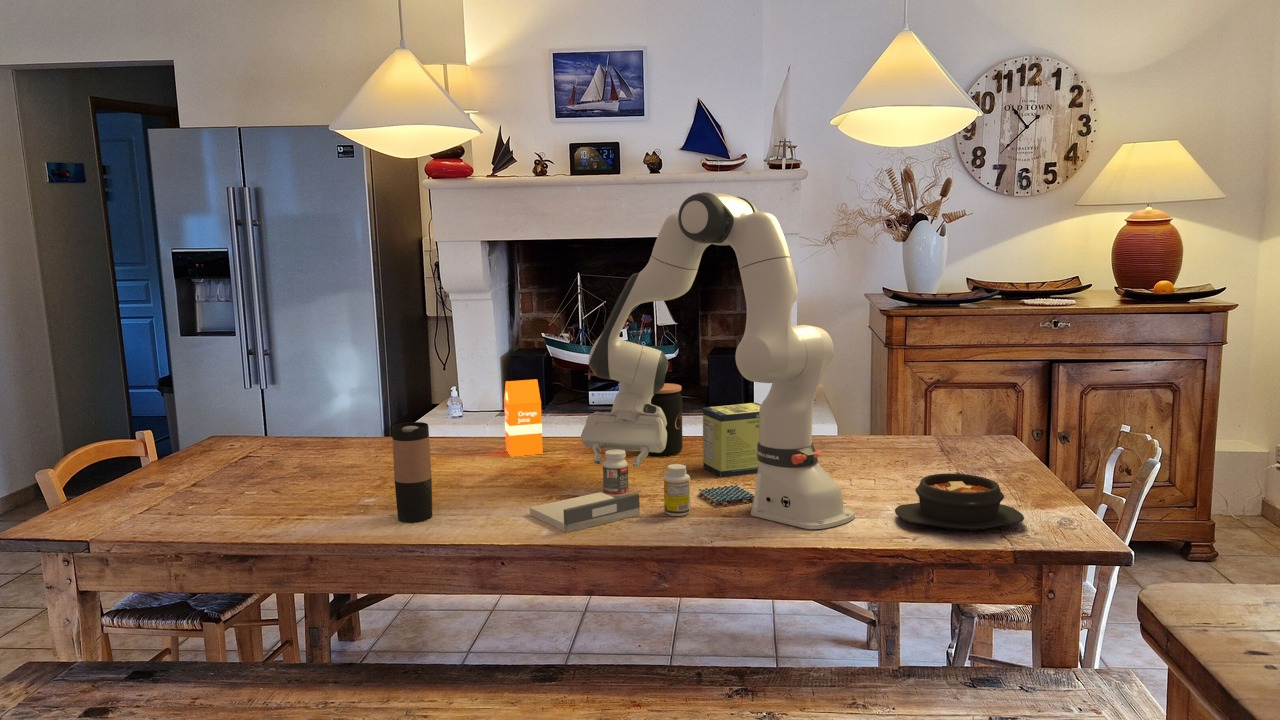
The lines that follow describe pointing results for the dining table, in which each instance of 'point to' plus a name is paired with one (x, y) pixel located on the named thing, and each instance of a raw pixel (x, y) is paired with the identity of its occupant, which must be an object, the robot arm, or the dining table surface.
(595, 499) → the shelf
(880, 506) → the dining table surface
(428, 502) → the travel mug
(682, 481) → the supplement bottle
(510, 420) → the orange juice
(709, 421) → the protein box
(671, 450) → the coffee jar
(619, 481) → the pill bottle
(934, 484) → the casserole
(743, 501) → the woven mat
